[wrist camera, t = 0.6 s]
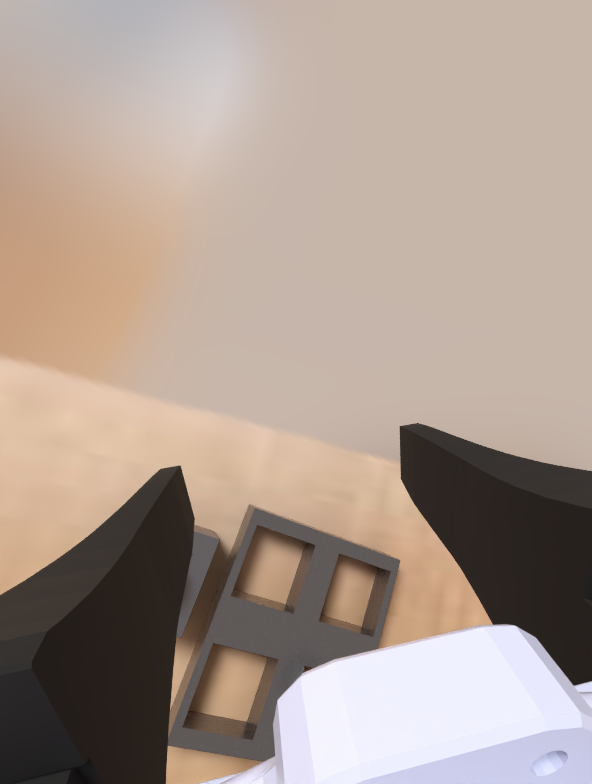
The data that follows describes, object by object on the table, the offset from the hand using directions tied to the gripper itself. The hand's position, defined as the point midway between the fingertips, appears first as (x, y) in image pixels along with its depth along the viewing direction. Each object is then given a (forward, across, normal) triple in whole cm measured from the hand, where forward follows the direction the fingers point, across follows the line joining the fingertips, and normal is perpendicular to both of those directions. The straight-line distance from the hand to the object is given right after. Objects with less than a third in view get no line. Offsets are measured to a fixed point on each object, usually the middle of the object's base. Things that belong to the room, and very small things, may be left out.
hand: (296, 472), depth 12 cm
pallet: (+13, +1, +24) cm, 27 cm away
